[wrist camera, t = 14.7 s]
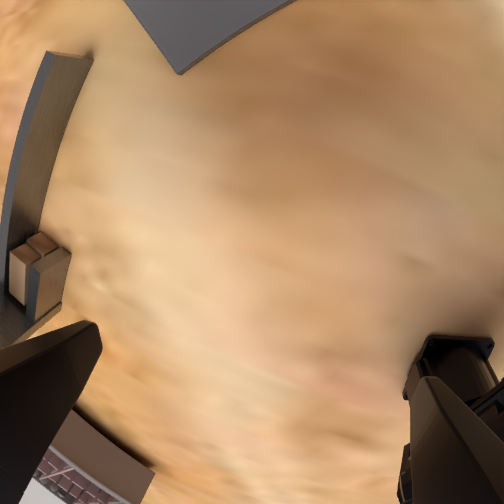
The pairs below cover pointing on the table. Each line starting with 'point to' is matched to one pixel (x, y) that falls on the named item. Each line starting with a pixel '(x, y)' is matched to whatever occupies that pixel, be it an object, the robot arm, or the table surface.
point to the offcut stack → (27, 263)
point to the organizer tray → (90, 468)
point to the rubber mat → (198, 24)
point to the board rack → (37, 194)
